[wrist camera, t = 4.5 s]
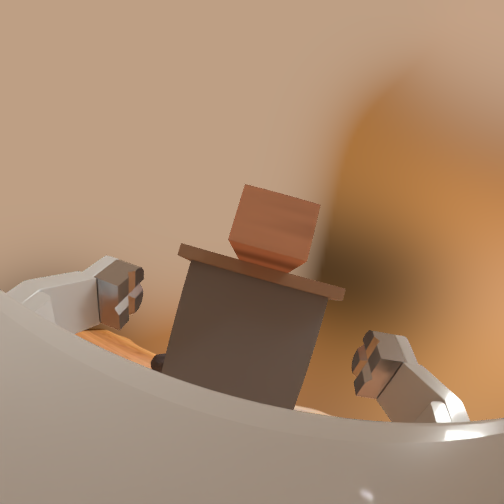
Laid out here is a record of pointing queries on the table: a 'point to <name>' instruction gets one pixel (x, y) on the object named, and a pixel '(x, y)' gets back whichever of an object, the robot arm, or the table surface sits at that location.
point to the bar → (273, 229)
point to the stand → (245, 328)
